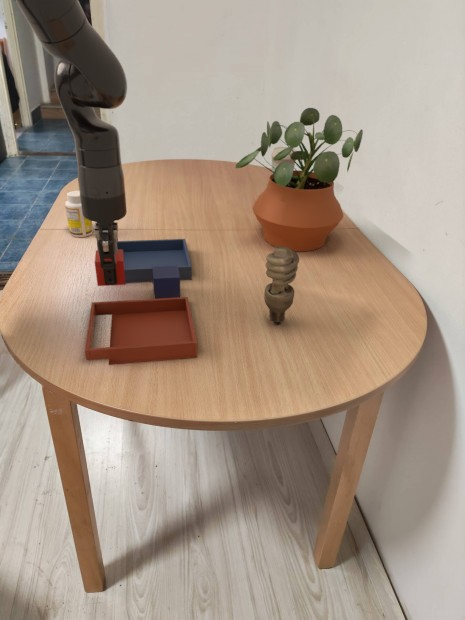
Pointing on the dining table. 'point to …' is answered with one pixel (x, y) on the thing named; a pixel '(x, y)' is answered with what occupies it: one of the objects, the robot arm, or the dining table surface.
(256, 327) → the dining table surface
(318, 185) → the potted plant
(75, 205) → the supplement bottle
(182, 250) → the back tray
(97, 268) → the red block
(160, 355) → the front tray
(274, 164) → the coffee cup
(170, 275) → the blue block
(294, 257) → the light bulb
